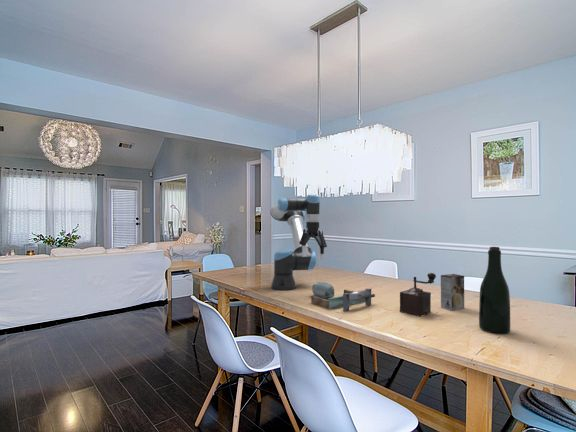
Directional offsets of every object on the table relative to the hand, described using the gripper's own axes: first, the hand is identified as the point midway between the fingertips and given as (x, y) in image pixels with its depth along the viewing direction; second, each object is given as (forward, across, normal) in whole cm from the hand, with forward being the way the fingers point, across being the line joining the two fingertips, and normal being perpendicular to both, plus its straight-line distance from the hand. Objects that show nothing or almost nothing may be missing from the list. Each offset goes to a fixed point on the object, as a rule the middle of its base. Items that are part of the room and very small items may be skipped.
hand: (312, 258), depth 187 cm
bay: (+20, +22, -3) cm, 30 cm away
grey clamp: (+20, +36, -2) cm, 41 cm away
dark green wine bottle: (+18, +90, +13) cm, 92 cm away
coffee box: (+19, +66, +31) cm, 75 cm away
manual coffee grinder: (+20, +58, +14) cm, 62 cm away
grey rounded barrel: (+20, +10, -2) cm, 23 cm away
